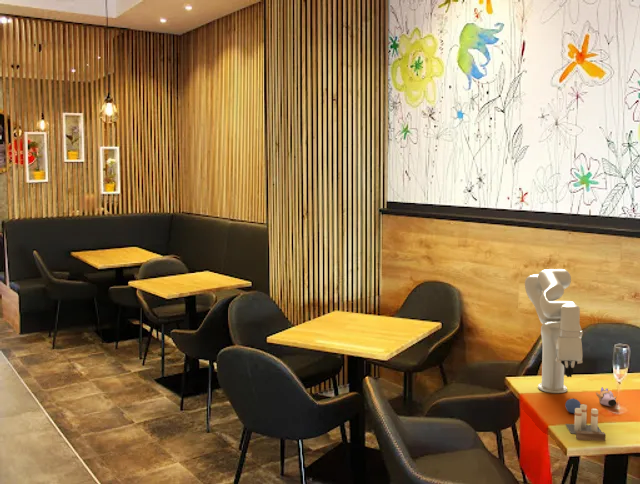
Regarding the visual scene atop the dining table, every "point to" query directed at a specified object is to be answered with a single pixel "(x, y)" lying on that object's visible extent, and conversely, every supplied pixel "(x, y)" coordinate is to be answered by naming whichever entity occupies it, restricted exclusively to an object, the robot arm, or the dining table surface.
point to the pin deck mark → (588, 428)
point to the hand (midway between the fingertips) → (568, 376)
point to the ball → (572, 405)
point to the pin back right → (577, 419)
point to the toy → (606, 397)
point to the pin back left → (594, 420)
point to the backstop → (590, 435)
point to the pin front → (583, 415)
